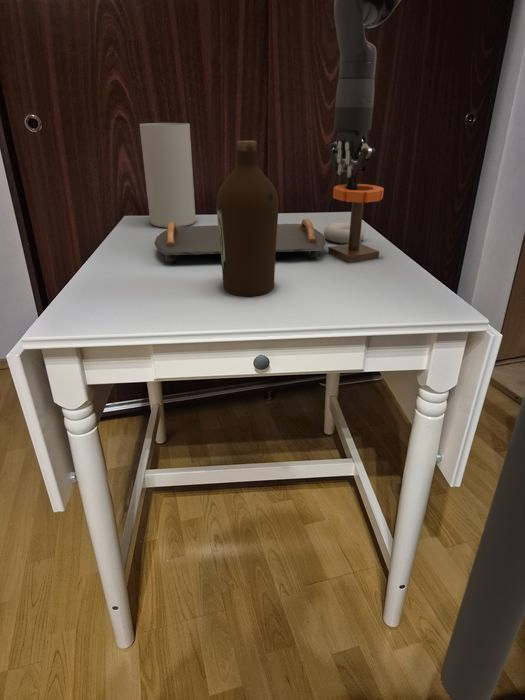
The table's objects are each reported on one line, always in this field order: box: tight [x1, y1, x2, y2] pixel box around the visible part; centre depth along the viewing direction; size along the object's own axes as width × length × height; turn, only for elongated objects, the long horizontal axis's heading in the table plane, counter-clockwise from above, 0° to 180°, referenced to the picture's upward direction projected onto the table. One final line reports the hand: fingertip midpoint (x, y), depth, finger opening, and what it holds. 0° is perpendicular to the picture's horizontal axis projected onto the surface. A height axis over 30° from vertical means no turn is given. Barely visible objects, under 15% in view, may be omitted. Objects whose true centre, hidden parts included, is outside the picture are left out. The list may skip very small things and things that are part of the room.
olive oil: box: [215, 139, 280, 297], centre depth 84 cm, size 11×11×25 cm
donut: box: [323, 222, 366, 244], centre depth 118 cm, size 10×4×10 cm
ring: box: [332, 183, 385, 203], centre depth 101 cm, size 10×10×2 cm
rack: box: [327, 202, 381, 264], centre depth 104 cm, size 8×8×14 cm
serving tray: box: [154, 218, 327, 265], centre depth 110 cm, size 39×23×6 cm, turn 96°
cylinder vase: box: [139, 122, 196, 229], centre depth 129 cm, size 12×12×25 cm
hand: (347, 194), depth 105 cm, fingers closed on ring, 2 cm apart
